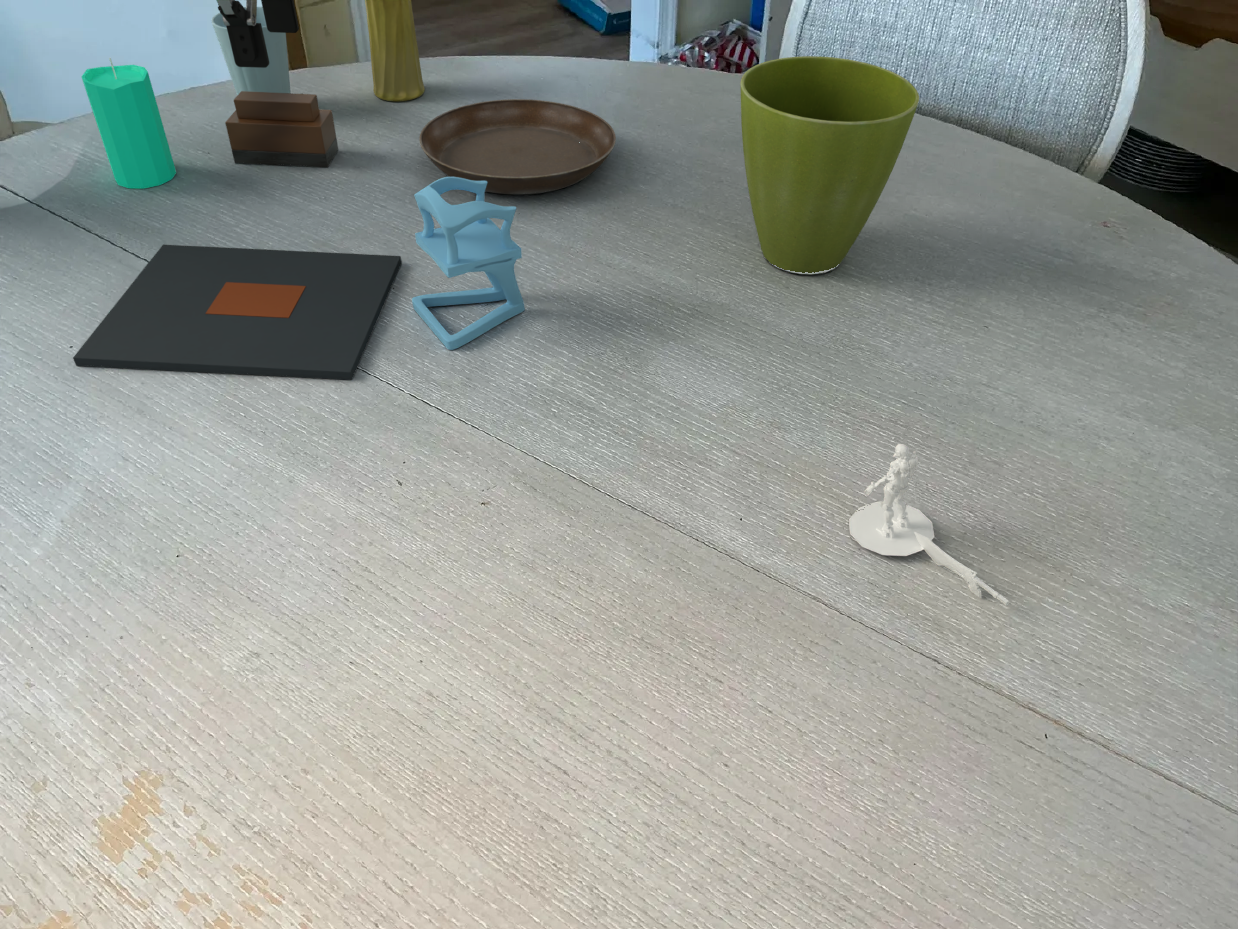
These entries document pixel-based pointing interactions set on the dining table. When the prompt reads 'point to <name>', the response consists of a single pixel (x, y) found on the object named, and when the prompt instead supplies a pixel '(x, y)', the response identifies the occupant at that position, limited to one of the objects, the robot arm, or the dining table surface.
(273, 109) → the brush
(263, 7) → the robot arm
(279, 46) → the cup
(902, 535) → the figurine
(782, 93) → the flower pot
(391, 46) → the vase
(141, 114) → the candle
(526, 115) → the plant saucer
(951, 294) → the dining table surface
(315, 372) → the mat
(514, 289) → the chair
